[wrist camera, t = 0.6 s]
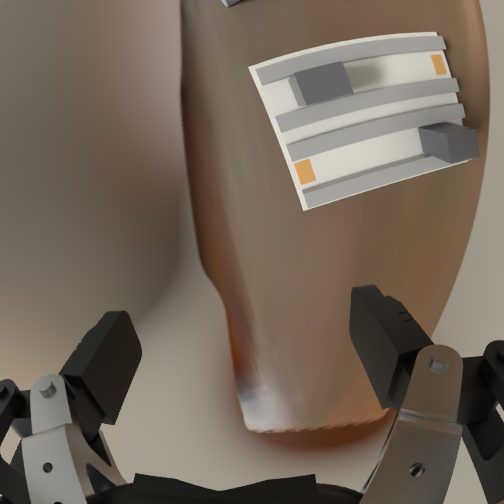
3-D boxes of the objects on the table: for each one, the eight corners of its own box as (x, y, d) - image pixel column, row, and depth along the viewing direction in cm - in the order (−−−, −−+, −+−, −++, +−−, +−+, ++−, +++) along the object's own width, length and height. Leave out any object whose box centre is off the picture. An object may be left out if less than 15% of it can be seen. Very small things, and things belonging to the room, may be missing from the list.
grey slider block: (417, 127, 24) (446, 134, 19) (444, 121, 23) (475, 128, 18) (422, 152, 25) (451, 164, 20) (449, 145, 24) (479, 156, 19)
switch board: (249, 69, 24) (247, 64, 21) (427, 34, 19) (442, 30, 16) (301, 204, 31) (305, 216, 28) (459, 157, 26) (475, 164, 23)
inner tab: (287, 80, 23) (293, 73, 18) (326, 69, 22) (341, 60, 17) (298, 106, 24) (306, 105, 19) (336, 95, 23) (353, 93, 18)
